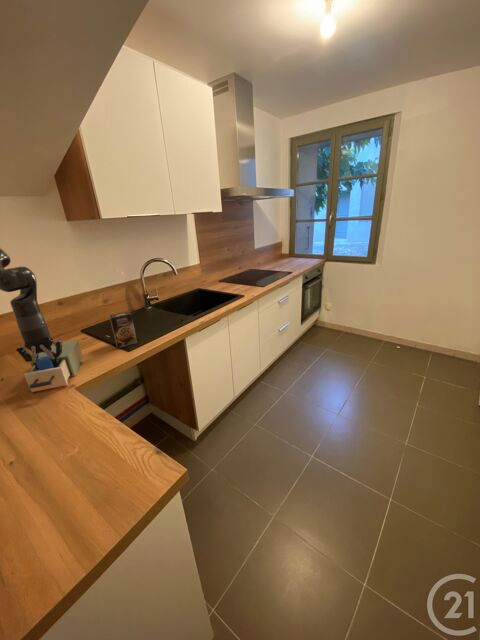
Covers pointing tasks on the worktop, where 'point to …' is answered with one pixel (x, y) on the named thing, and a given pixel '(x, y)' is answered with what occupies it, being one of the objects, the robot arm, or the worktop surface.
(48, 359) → the blue cube
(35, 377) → the dispenser drawer
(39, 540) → the worktop surface
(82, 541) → the worktop surface
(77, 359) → the grey-green drawer cabinet
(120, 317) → the coffee box
